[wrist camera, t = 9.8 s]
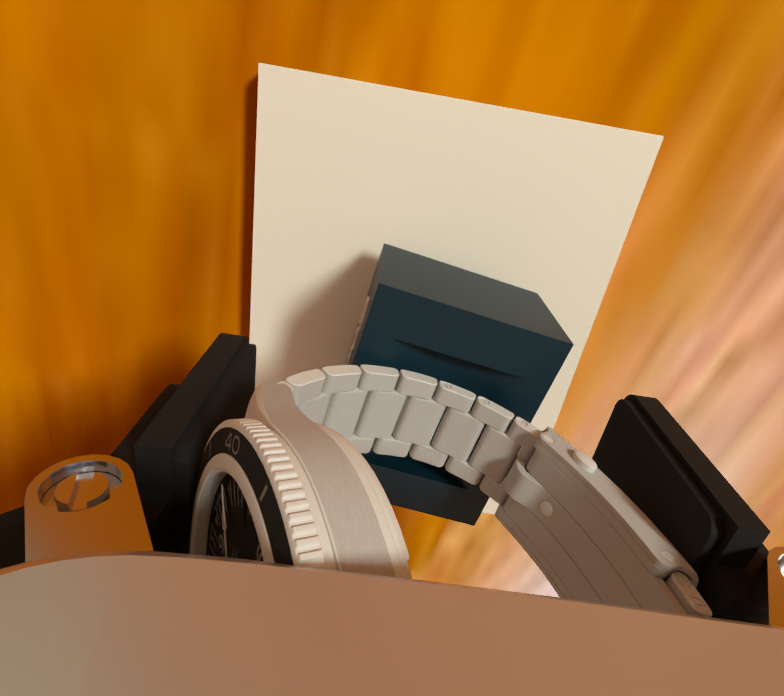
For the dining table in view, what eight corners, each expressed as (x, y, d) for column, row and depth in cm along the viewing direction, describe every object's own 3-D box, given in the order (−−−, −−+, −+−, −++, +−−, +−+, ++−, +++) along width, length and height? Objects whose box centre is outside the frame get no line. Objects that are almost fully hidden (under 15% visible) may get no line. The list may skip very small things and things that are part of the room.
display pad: (515, 501, 19) (519, 517, 18) (250, 466, 18) (244, 481, 17) (649, 133, 13) (663, 136, 12) (267, 64, 12) (258, 62, 12)
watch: (309, 219, 12) (-37, 661, 3) (596, 312, 13) (1125, 887, 4) (264, 397, 15) (-3, 978, 5) (511, 466, 16) (690, 1063, 6)
